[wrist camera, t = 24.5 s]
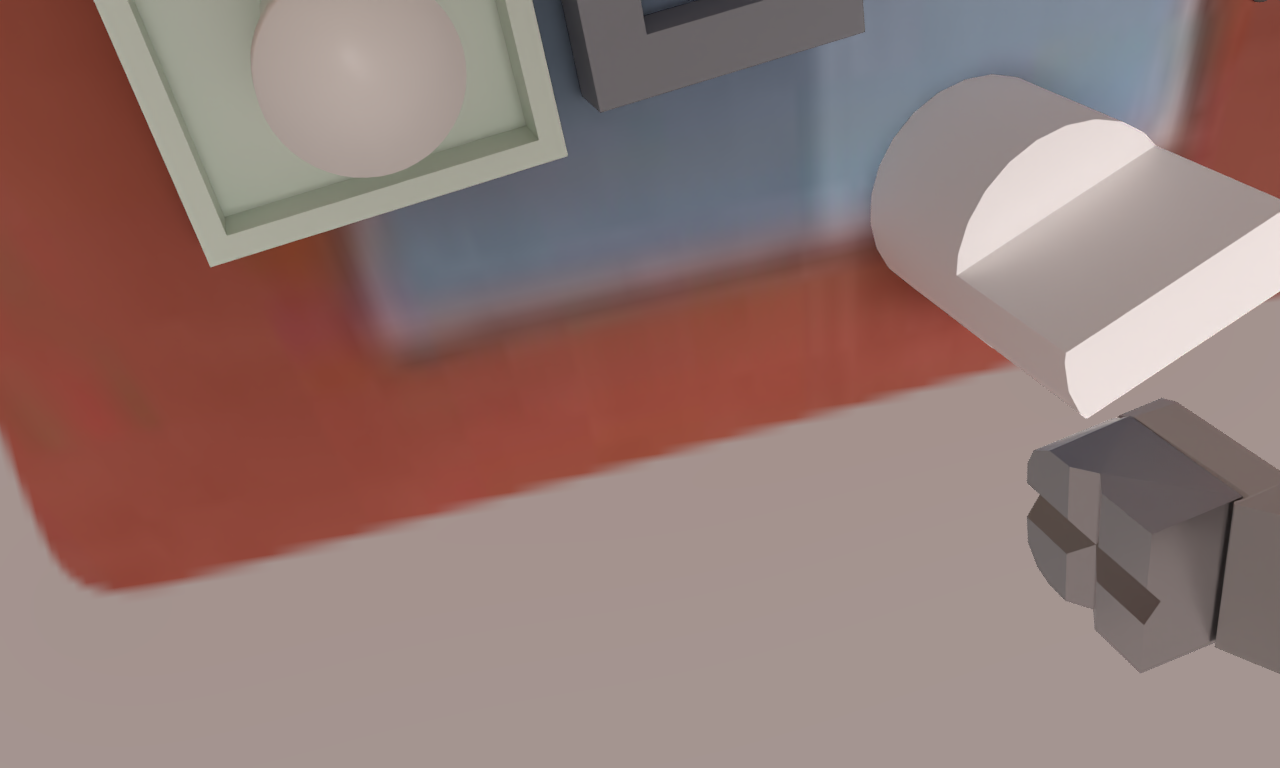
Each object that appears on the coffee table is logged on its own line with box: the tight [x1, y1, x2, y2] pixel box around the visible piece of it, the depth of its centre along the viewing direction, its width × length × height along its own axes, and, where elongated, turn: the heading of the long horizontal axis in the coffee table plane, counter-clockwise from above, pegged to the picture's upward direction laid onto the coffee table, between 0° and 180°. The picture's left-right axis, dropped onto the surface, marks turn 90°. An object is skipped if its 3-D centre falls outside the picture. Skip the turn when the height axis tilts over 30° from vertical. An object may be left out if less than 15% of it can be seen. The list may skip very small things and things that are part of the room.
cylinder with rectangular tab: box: [870, 74, 1280, 419], centre depth 41 cm, size 9×9×12 cm
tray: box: [94, 0, 568, 267], centre depth 34 cm, size 12×12×2 cm
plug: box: [250, 0, 467, 178], centre depth 32 cm, size 5×5×7 cm
